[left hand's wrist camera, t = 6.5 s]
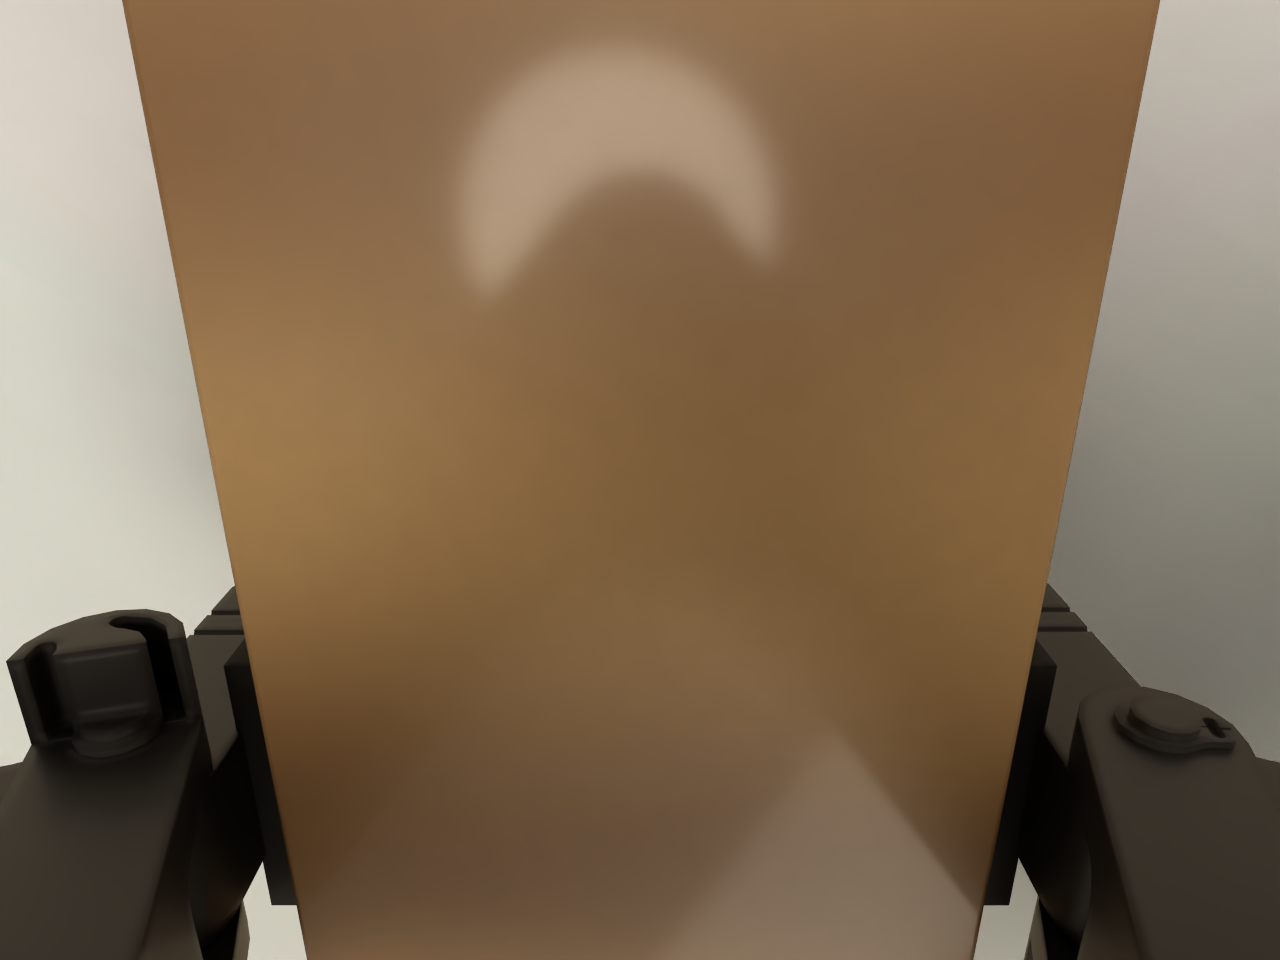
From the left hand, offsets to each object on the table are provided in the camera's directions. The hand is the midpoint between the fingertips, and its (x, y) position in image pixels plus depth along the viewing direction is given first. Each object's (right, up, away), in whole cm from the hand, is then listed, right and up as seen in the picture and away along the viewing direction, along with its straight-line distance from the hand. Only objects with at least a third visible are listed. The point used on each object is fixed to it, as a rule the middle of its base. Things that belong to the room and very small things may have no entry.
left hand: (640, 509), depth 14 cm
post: (0, -27, +11) cm, 29 cm away
